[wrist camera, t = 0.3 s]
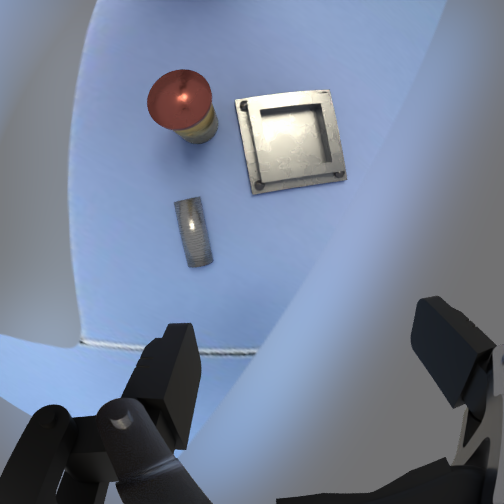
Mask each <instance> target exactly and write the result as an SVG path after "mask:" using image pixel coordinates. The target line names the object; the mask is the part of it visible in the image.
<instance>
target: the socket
mask: <svg viewBox="0 0 504 504" xmlns="http://www.w3.org/2000/svg"><path fill="white" fill-rule="evenodd" d="M235 104H236V109H237V114H238V120H239V125H240V130H241V135H242V141H243V146H244V151H245V157H246V162H247V168H248V173H249V178H250V184H251V189H252V194H253V195H254V194H260V193H265V192H271V191H277V190H283V189H289V188H295V187H302V186H308V185H315V184H322V183H329V182H336V181H343V180H347V175H346V169H345V163H344V157H343V152H342V146H341V141H340V136H339V131H338V126H337V121H336V116H335V112H334V107H333V103H332V98H331V94H330V90H313V91H301V92H290V93H281V94H272V95H265V96H257V97H251V98H244V99H238V100H235Z"/></svg>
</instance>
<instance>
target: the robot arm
mask: <svg viewBox="0 0 504 504" xmlns="http://www.w3.org/2000/svg"><path fill="white" fill-rule="evenodd" d="M411 345H412V348H413V350H414V352H415V353H416V355H417V356H418V358H419V359H420V360H421V362H422V363H423V364H424V366H425V367H426V369H427V370H428V372H429V373H430V375H431V376H432V378H433V379H434V381H435V382H436V383H437V385H438V387H439V388H440V390H441V391H442V392H443V394H444V396H445V397H446V398H447V400H448V402H449V403H450V405H451V406H452V408H453V409H454V408H456V407H458V406H461V405H463V404H466V405H467V408H466V410H465V412H464V415H463V422H462V428H461V434H460V439H459V444H458V449H457V453H456V456H455V459H454V461H453V463H452V465H451V466H450V465H449V464H448V462H447V460H446V457H444V458H442V459H439V460H437V461H435V462H432V463H430V464H427V465H425V466H422V467H419V468H417V469H414V470H411V471H409V472H408V473H406V474H405V475H403V476H401V477H400V478H398V479H396V480H394V481H393V482H391V483H389V484H387V485H386V486H384V487H382V488H380V489H378V490H376V491H374V492H371V493H352V494H339V493H336V494H335V493H321V494H315V495H307V496H300V497H290V498H280V499H276V504H504V344H502V345H498V346H497V345H496V344H494V342H493V341H491V340H490V339H489V338H488V337H487V336H486V335H485V334H484V333H483V332H482V331H481V330H480V329H479V328H478V327H475V324H474V323H473V322H471V321H469V319H468V318H467V317H466V316H465V315H464V314H463V313H462V312H460V311H458V310H456V309H454V308H452V307H451V306H450V305H448V304H447V303H446V302H445V301H444V300H443V299H442V298H441V297H439V296H433V297H428V298H422V299H420V300H419V301H418V303H417V307H416V312H415V317H414V322H413V328H412V332H411ZM200 378H201V360H200V355H199V351H198V347H197V342H196V338H195V333H194V329H193V326H192V324H191V323H171V324H168V326H167V328H166V330H165V333H164V335H163V337H162V338H155V339H154V340H153V341H151V342H150V343H149V344H148V345H147V346H146V347H145V348H144V350H143V352H142V354H141V357H140V359H139V361H138V363H137V365H136V368H135V369H134V371H133V373H132V375H131V377H130V379H129V381H128V383H127V385H126V388H125V390H124V392H123V394H122V396H121V398H117V399H114V400H111V401H109V402H107V403H106V404H104V405H103V406H102V407H101V408H100V409H99V411H98V413H97V415H95V416H86V417H74V418H72V417H71V415H70V414H69V412H68V411H67V410H66V409H65V408H64V407H63V406H60V405H47V406H44V407H42V408H41V409H39V410H38V411H36V412H35V414H34V415H33V416H32V418H31V419H30V421H29V423H28V425H27V426H26V428H25V430H24V432H23V434H22V435H21V438H20V439H19V441H18V443H17V445H16V447H15V449H14V451H13V452H12V454H11V456H10V458H9V460H8V462H7V464H6V466H5V468H4V470H3V473H2V475H1V477H0V504H104V501H105V497H106V493H107V489H108V485H109V482H115V481H119V482H116V488H117V491H118V493H119V496H120V498H121V500H122V502H123V503H124V504H213V503H212V502H211V501H210V500H209V499H208V497H207V496H206V495H205V494H204V493H203V491H202V490H201V489H200V487H198V485H197V484H196V482H195V481H194V480H193V479H192V477H191V476H190V474H189V473H188V472H187V470H186V469H185V468H184V466H183V465H182V464H181V462H180V461H179V460H178V459H177V458H176V457H175V456H174V455H173V454H174V450H175V449H178V450H186V449H187V443H188V438H189V433H190V428H191V423H192V418H193V413H194V408H195V403H196V398H197V393H198V388H199V383H200ZM64 470H65V472H64V475H63V477H62V480H61V483H60V486H59V488H58V491H57V494H56V489H57V487H58V484H59V481H60V479H61V476H62V473H63V471H64Z"/></svg>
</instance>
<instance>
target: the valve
mask: <svg viewBox="0 0 504 504" xmlns="http://www.w3.org/2000/svg"><path fill="white" fill-rule="evenodd" d="M147 107H148V111H149V114H150V115H151V117H152V118H153V120H154V121H155V122H156V123H158V124H159V125H161V126H162V127H164V128H166V129H169V130H173V131H174V132H175V133H177V134H178V135H179V136H181V137H182V138H183V139H185V140H186V141H188V142H190V143H193V144H201V143H204V142H207V141H208V140H210V139H211V138H212V137H213V136H214V135H215V133H216V131H217V129H218V119H217V116H216V113H215V110H214V108H213V105H212V93H211V89H210V86H209V84H208V82H207V81H206V79H205V78H204V77H203V76H202V75H200V74H199V73H197V72H195V71H191V70H183V69H182V70H175V71H172V72H169V73H167V74H165V75H163V76H162V77H161V78H159V79H158V80H157V81H156V82H155V83H154V85H153V86H152V88H151V90H150V92H149V95H148V100H147Z"/></svg>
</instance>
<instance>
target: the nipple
mask: <svg viewBox="0 0 504 504" xmlns="http://www.w3.org/2000/svg"><path fill="white" fill-rule="evenodd" d="M174 205H175V210H176V215H177V220H178V224H179V229H180V234H181V238H182V242H183V247H184V251H185V255H186V260H187V264H188V267H191V268H194V267H201V266H205V265H208V264H210V263H212V262H213V257H212V253H211V248H210V243H209V239H208V234H207V229H206V224H205V219H204V214H203V209H202V204H201V199H200V197H195V198H190V199H185V200H181V201H177V202H174Z"/></svg>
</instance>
